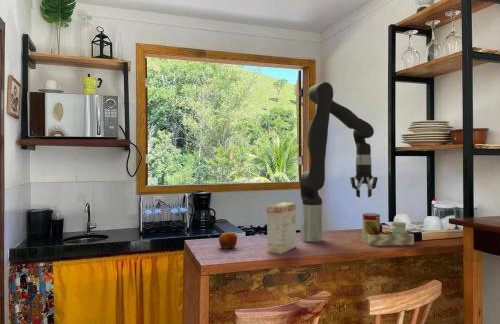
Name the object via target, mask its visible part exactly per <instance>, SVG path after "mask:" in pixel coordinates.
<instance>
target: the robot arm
mask: <svg viewBox="0 0 500 324" xmlns="http://www.w3.org/2000/svg"><path fill="white" fill-rule="evenodd" d="M307 95H308V98H309V100H310V101H311V102H312V103H314V104H315V105H316V109H315V113H314V116H313V118H312V120H311V122H310V124H309V127H308V132H307V149H308V152H309V157H310V166H309V170H306V171H304V172H303V173H302V174H301V176H300V181H299V187H300V197H301V201H302V202H301V203H302V218H301V240H302V241H303V242H307V243H308V242H309V243H320V242H322V241H323V199H322V197H321V196H320V195H319V190H321V189H322V188H323V187H324V185H325V180H326V156H327V155H326V154H327V143H328V135H329V134H328V131H329V122H330V114H331V116H333V117H335V118H336V119H338V120H339V121H340V122H341V124H343V125H344V126H346V127H347V128H348V129H350V130H353V133H352V134H353V136H352V137H353V140H354V144H355V147H356V151H355V152H356V155H355V157H356V158H355V176H350V178H349V180H350V184H351V188H352V189H354V190H355V196H356V197H357V198H360V197H361V187H362V185H363V184H365V185H366V186H367V197H368V198H371V197H372V195H373V193H372V192H373V190H374V189H376V188H377V182H378V177H377V176H373V174H372V152H371V151H372V149H371V144H370V143H369V142H366V139H370V138H371V137H373V136H374V133H375V130H374V127H373V126H372V125H371V123H369V122H368V121H366V120H364V119H362V118H360V117H358V116H357V114H355V113H354V112H353V111H352V110H351V109H349V108H348V107H346V106H343V105H341V104H340V103H338V102H336V101H334V100H333V99H334V88H333V86H332V85H331V83H330V82H326V81H324V82H320V83H317V84H315V85H312V86H311V87H309V90H308V94H307ZM355 181H357V183H356V182H355ZM371 181H372V183H371Z"/></svg>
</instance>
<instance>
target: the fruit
mask: <svg viewBox="0 0 500 324" xmlns="http://www.w3.org/2000/svg"><path fill="white" fill-rule="evenodd" d="M218 242H219V245H220V247H221V248H222V249H226V250H228V249H229V248H232V249H236V245H237V242H238V236H237V234H236V233H234V232H230V231H228V232H227V231H226V232H223V233H222V234H221V235H220V236H218Z"/></svg>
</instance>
